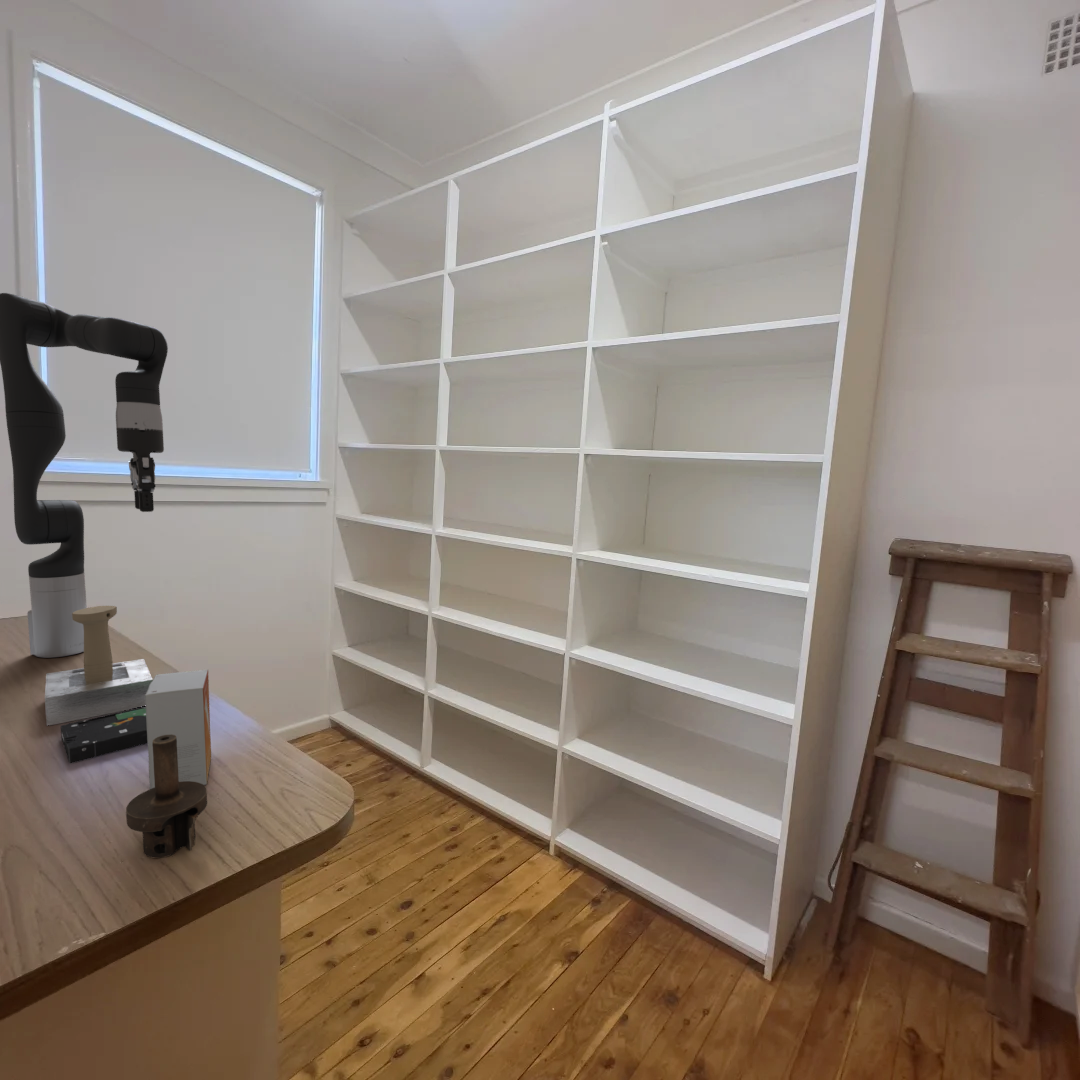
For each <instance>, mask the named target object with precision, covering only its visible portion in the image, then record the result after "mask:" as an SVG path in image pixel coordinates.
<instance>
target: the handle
mask: <svg viewBox="0 0 1080 1080" xmlns="http://www.w3.org/2000/svg"><path fill="white" fill-rule="evenodd" d="M117 614H118V610H117V606H115V605H96V606H92V607H91V606H90V607H87V608H85V609H81V610H77V611H75V612H73V613H72V619H73V620H74V621H76V622H78V623H81V624H83V627H84V651H83V668H84V674H85V681H86V685H87V684H93V683H99V682H105V681H111V680H112V676H113V675H112V674H113V668H112V667H113V654H112V647H111V641H110V639H111V638H110V633H109V621H110V619H112V618H114V617H115V616H116V615H117Z"/></svg>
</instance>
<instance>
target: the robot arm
mask: <svg viewBox="0 0 1080 1080" xmlns="http://www.w3.org/2000/svg"><path fill="white" fill-rule="evenodd" d="M28 345H31V346H36V347H41V348H63V347H76V348H79V349H81V350H84V351H88V352H92V353H97V354H103V355H110V356H113V357H118V358H124V359H128V360H133V361H137V363H138V364H137V366H136V368H135V370H134V371H129V370H128V371H121V372H118V373H117V374H116V376H115V381H114V383H115V396H116V397H115V398H116V399H115V400H116V408H115V426H116V427H115V428H116V444H117V450H118V451H119V452H123V453H131V454H132V457H130V460H129V461H128V469H129V477H130V478H129V479H130V483H131V484H130V485H131V487H132V489H133V491H134V493H133V495H134V509H136V510H139V511H140V512H142V513H147V512H148V513H150V512H151V513H152V512H153V511H154V509H155V507H154V491H155V488H156V484H155V483H156V473H155V472H156V471H155V470H156V463H155V459H154V457H151V454H161V453H163V452H164V450H165V448H164V445H165V444H164V429H163V427H164V425H163V415H162V410H161V398H160V397H161V394H160V383H161V380H162V376H163V372H164V367H165V364H166V360H167V357H168V353H169V352H168V351H169V350H168V349H169V347H168V346H169V345H168V342H167V339H166V337H165V335H164V333H163V332H162V331H161V330H159V329H158V328H156V327H154V326H151V325H148V324H142V323H138V322H135V321H131V320H127V319H123V318H118V317H110V316H109V317H108V316H106V317H105V316H99V315H93V314H86V313H83V314H79V313H78V314H76V315H75V314H74V315H73V314H70V313H68V312H66V311H64V310H62V309H60V308H57V307H56V306H53V305H50V303H49V304H48V303H46V302H42V301H39V300H37V299H36V300H35V299H32V298H28V297H24V296H21V295H18V294H14V293H8V292H1V293H0V369H1V376H2V384H3V392H4V393H3V394H4V405H5V406H4V407H5V420H6V427H7V436H8V441H9V449H10V455H11V463H12V475H13V480H12V481H13V516H14V517H13V518H14V519H13V520H14V527H15V532H16V535H17V538H18V539H19V541H20V542H21V543H22V544H24V545H44V544H45V545H46V544H60V546H59V547H58V548H57V550H56V551H54V552H52V553H50V554H48V555H46V556H44V557H41V558H39V559H35V560H34V561H31V562H30V563H29V564H28V568H27V570H28V571H27V572H28V581H29V594H30V607H31V609H30V610H28V611H27V613H26V615H27V624H28V625H27V626H28V638H29V639H28V640H29V651H30V655H33V656H35V657H37V658H48V659H50V658H59V657H67V656H73V655H76V654H80V653H84V627H83V624H81V623H78V622H76V621H74V620H73V619H72V613H73V612H75V611H77V610H81V609H85V608H88V607H87V593H86V592H87V591H86V590H87V589H86V579H85V575H86V574H85V547H84V546H85V540H84V539H85V518H84V513H83V509H82V506H81V505H80V504H79V503H78V502H77V501H75V500H73V499H51V500H50V499H47V500H46V499H45V500H40V499H39V500H38V498H37V497H38V489H39V484H40V481H41V478H42V477H43V475H44V473H45V471H46V470H47V468H48V467H49V466H50V464H51V462H52V461H53V460H54V459H55V458H56V457H57V455H58V454H59V452H60V450H62V447H63V446H64V444H65V442H66V441H65V440H66V436H67V435H66V426H65V425H66V424H65V416H64V415H65V414H64V410H63V406H62V404H61V403H60V401H59V399H58V398H57V396H56V395H55V393H54V392H53V391H52V390H51V389H50V387H49V385H48V384H47V383H46V382H45V381H44V380H43V377H41V375H40V374H39V373H38V372H37V370H36V367H34V365H33V363H32V360H31V357H30V353H29V349H28Z"/></svg>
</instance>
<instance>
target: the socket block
mask: <svg viewBox="0 0 1080 1080" xmlns="http://www.w3.org/2000/svg"><path fill="white" fill-rule="evenodd" d="M112 664H113V667H112V668H113V674H112V675H113V676H112V680H111V681H105V682H99V683H93V684H87V685H86V681H85V674H84V667H82V668H81V667H80V668H74V669H68V670H62V671H55V672H48V673H46V674H45V675H46V676H45V689H44V706H45V720H46V727H48V725H49V726H53V725H58V724H65V723H68V722H69V723H71V722H74V721H75V722H76V721H81V720H86V719H91V718H96V717H101V716H106V715H110V714H115V713H119V712H124V710H126V711H129V709H131V710H133V709H132V708H136V709H138V708H137V707H141V706H145V705H146V702H145V695H146V693H147V691H148V688H149V685H150V684H151V682H152V681H153V679H154V678H153V677H152V675H151V673H150V670H149V668H148V665H147V664H146V661H145V659H144V658H141V659H133V660H128V661H127V660H126V661H122V662H121V661H120V662H119V661H118V662H114V663H112ZM141 708H142V707H141Z"/></svg>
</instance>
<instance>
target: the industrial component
mask: <svg viewBox="0 0 1080 1080" xmlns="http://www.w3.org/2000/svg"><path fill="white" fill-rule="evenodd" d="M152 743H153V744H152V746H153V761H154V780H155V788H152V789H150V788H149V789H147V790H145V791H143V792H141V793H140V794H138V795H136V796H134V797H133V798H132V799H131V800H130V801H129V802H128V804H127V805H126V808H125V813H126V814H125V815H126V826H127V827H128V828H129V829H130V830H132V831H134V832H140V833H142V849H143V854H144V855H145V856H146V857H149V858H154V859H155V858H156V859H157V858H165V857H169V856H171V857H174V856H173V855H174V854H175V853H176V851H178V850H180V849H182V848H184V847H185V848H186V849H187V850H189V852H191V851H192V848H193V847H194V846H195V845H196V844H195V843H196V842H195V840H196V827H195V825H196V824H195V823H196V820H197V818H198V816H200V814H201V813H203V812H204V810H206V808H207V806H208V791H207V787H206V786H205V785H203V784H201V783H198V782H192V781H183V782H179V777H178V756H177V737H176V736H175V735H172V734H169V735H162V736H159V737H157V738H155V739H154V740H153V742H152Z"/></svg>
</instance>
